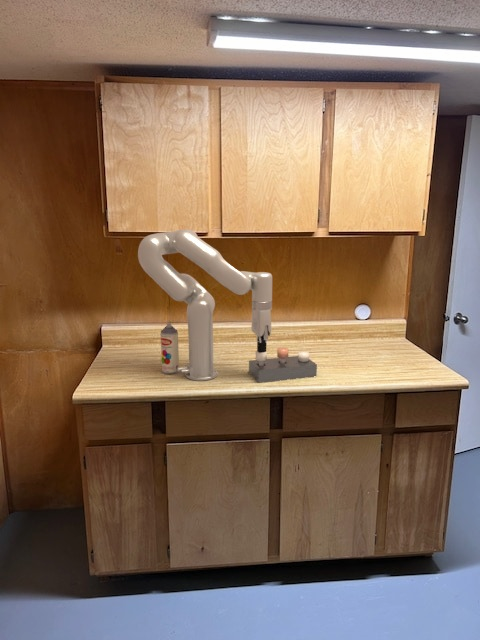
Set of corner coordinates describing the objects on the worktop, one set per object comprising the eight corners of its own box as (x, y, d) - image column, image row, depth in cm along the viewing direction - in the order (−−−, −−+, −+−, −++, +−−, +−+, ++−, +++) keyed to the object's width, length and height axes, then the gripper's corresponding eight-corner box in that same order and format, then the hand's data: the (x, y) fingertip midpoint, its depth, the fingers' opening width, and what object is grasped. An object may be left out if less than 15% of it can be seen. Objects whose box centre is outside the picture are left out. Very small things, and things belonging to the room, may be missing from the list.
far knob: (300, 374, 183) (300, 354, 182) (295, 370, 188) (296, 351, 186) (310, 373, 185) (311, 354, 183) (305, 369, 189) (306, 350, 187)
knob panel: (258, 382, 175) (258, 370, 173) (248, 372, 186) (248, 360, 185) (316, 376, 181) (316, 364, 180) (303, 366, 193) (304, 355, 191)
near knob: (257, 373, 178) (257, 353, 176) (253, 369, 182) (254, 350, 180) (268, 372, 179) (268, 352, 177) (264, 368, 183) (264, 349, 181)
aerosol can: (158, 372, 185) (156, 324, 181) (169, 367, 191) (167, 320, 186) (172, 375, 182) (170, 326, 177) (182, 370, 188) (181, 322, 183)
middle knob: (279, 370, 180) (279, 351, 178) (275, 367, 184) (275, 348, 183) (289, 369, 182) (290, 350, 180) (285, 366, 186) (285, 347, 184)
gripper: (246, 302, 180) (246, 347, 185) (259, 309, 166) (258, 358, 171) (264, 300, 182) (264, 345, 187) (278, 308, 168) (277, 356, 173)
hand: (261, 351), depth 179 cm, fingers closed
